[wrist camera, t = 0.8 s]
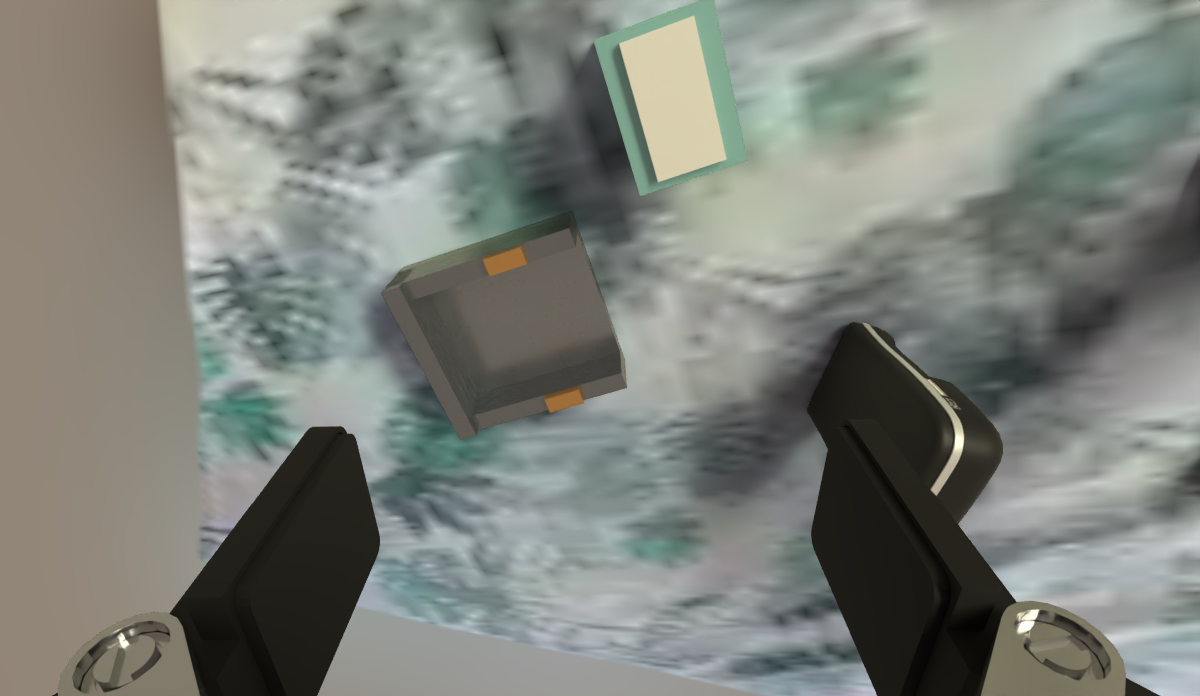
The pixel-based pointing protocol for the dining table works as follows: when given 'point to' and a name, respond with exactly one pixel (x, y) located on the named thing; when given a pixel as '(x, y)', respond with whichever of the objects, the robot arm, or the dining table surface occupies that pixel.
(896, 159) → the dining table surface
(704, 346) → the dining table surface
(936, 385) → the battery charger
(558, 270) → the tray
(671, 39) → the block
